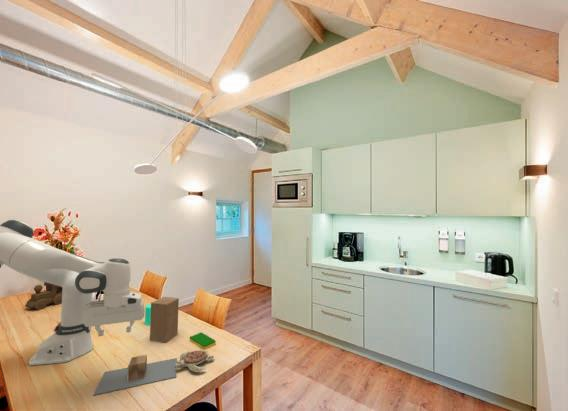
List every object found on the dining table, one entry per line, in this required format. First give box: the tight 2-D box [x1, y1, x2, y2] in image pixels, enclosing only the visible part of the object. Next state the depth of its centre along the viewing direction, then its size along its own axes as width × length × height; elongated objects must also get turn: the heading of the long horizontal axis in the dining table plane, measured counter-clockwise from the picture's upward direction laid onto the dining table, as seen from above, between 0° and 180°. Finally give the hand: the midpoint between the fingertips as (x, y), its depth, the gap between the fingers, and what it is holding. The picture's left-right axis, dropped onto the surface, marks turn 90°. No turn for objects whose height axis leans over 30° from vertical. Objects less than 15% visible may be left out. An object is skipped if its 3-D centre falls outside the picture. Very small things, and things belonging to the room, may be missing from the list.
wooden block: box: [149, 296, 180, 344], centre depth 133 cm, size 10×10×20 cm
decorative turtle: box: [175, 350, 215, 373], centre depth 109 cm, size 18×17×5 cm
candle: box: [144, 304, 151, 326], centre depth 150 cm, size 6×6×12 cm
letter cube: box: [127, 354, 148, 381], centre depth 101 cm, size 6×6×6 cm
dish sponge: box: [189, 332, 217, 351], centre depth 128 cm, size 7×14×2 cm, turn 50°
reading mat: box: [93, 357, 178, 397], centre depth 101 cm, size 28×14×1 cm, turn 113°
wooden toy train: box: [24, 282, 63, 311], centre depth 175 cm, size 20×11×17 cm, turn 161°
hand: (114, 333), depth 99 cm, fingers open, 8 cm apart
